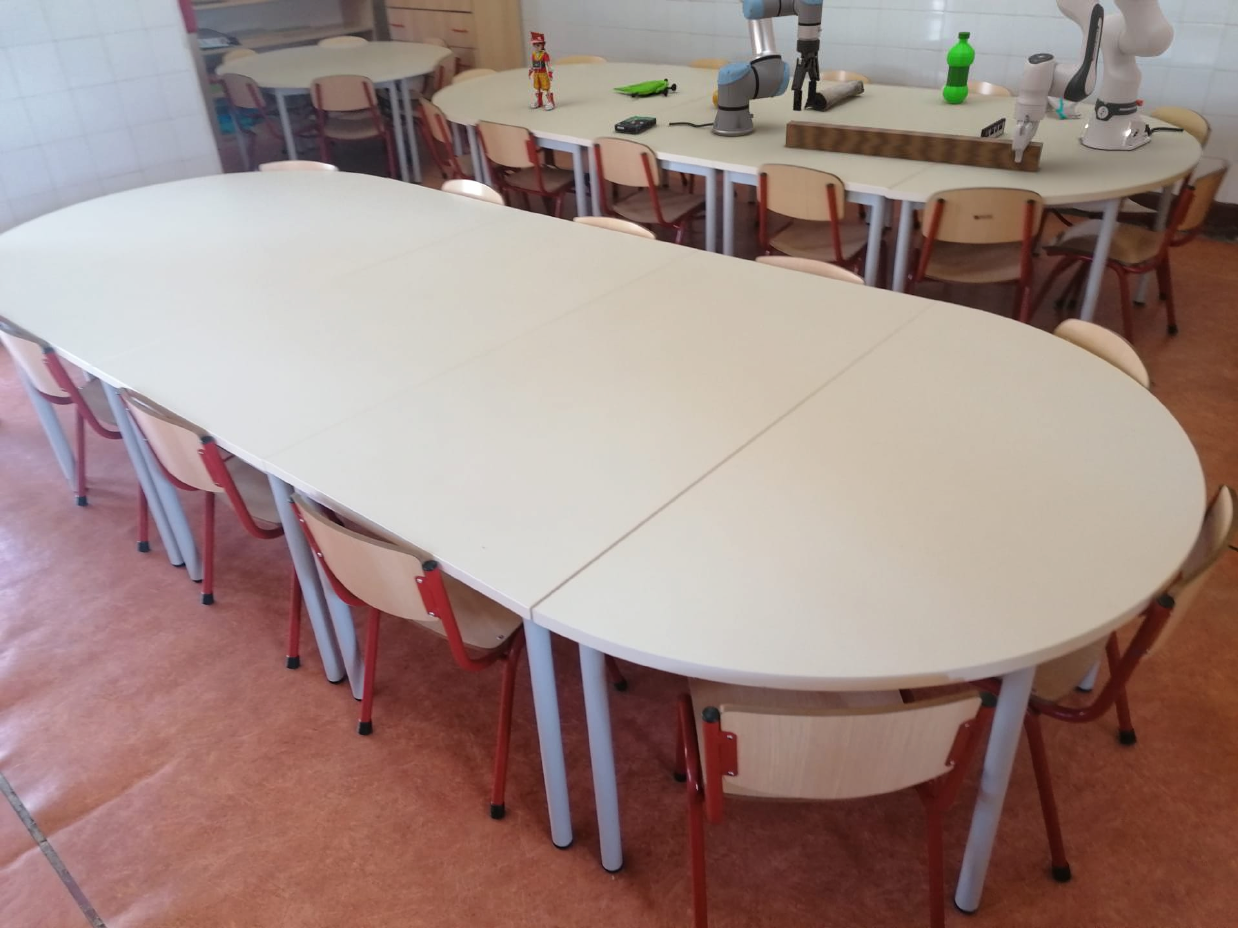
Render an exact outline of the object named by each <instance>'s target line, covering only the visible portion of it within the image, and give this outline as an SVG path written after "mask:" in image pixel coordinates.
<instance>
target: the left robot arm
mask: <svg viewBox="0 0 1238 928" xmlns="http://www.w3.org/2000/svg"><path fill="white" fill-rule="evenodd" d="M738 1H739V2H740V3H741V4H742V5H741V9H742V13H743V17H744V18H745V20H747V25H748V32H749V39H750V46H751V52H752V53H751V54H752V57H751V59H750V61H734V62H730V63H727V64H724V65H723V66H721V67H720V68H719V70H718V75H717V82H716V83H717V90H718V107H717V111H716V114H715V118H714V120H713V122H708V123H703V124H695V123H692V122H688V121H683V122H682V121H678V122H668V126H677V125H678V126H681V125H682V126H683V125H684V126H685V125H686V126H691V127H693V128H704V127H711V126H712V133H713V134H715V135H717V136H721V137H741V136H746V135H750V134H752V133H754V127H755V126H754V122H753V119H754V113H751V111H750V101H754V100H761V99H768V98H771V99H772V98H775V97H780V96H783V95H784V94H785V93H786V91H787V90H788V87H789V84H790V78H791V71H790V65H789V63H788V62H787V61H785V60H783V59H782V55H781V53H779V52H778V51H777V48H776V39H775V32H774V24H773V18H781V17H782V18H783V17H791V16H792V17H793V16H795V17H797V31H796V38H797V40H796V52H797V53H800V57H797V58H796V63H795V69H794V74H793V78H792V84H791V88H790V90H791V91H793V101H792V111H795V112H802V104H803V90H802V88H803V85H804V83H805V79H806V76H807V74H808V77H809V78H808V79H809V81H808V85H807V98H808V99H807V98H806V101H811V102H815V101H816V91H817V85H818V82H820V81H821V73H820V63H819V52H820V48H821V47H820V46H821V40H820V37H821V32H822V31H823V28H822V20H823V19H822V17H823V16H822V15H823V7H824V6H823V5H824V0H738Z"/></svg>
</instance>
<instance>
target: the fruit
mask: <svg viewBox="0 0 1238 928" xmlns="http://www.w3.org/2000/svg"><path fill="white" fill-rule="evenodd" d="M712 103H713V105H714V106H715V107H716V108H718V89H717V90H716V91H714V92H713V94H712Z"/></svg>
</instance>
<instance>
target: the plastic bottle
mask: <svg viewBox="0 0 1238 928" xmlns="http://www.w3.org/2000/svg"><path fill="white" fill-rule="evenodd" d="M970 36H971V32H970V31H959V32H958V36H957V39H958V42H957V43H956V44H954V45H953V46H952V47H951V48H950V49H949V50H948V52H947V54H946V63H947V64H948V69H947V70H948V71H947V76H946V77H947V78H946V84H945V85H944V87H943V90H942V97H943V99H944V100H945V101H946V102H947V103H948V104H960V103H961V102H963V101H964V100H966V98H967V96H968V95H969V85H968V79H969V73H970V67H971V65H972V64H973V63H974V61H975V57H976V51H975V49H974V47H972V45H971V44H970V43H969V42H968V41H969V39H970V38H971V37H970Z"/></svg>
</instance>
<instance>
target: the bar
mask: <svg viewBox="0 0 1238 928" xmlns="http://www.w3.org/2000/svg"><path fill="white" fill-rule="evenodd" d="M785 125H786V128H785V145H784V147H785V148H793V149H794V148H795V149H796V148H797V149H805V150H813V151H814V150H815V151H825V152H834V153H843V154H853V155H865V156H872V157H884V158H894V159H903V160H913V161H922V162H923V161H924V162H934V163H943V164H952V165H963V166H972V167H980V168H981V167H982V168H993V169H1000V170H1001V169H1002V170H1011V171H1012V170H1013V171H1021V172H1029V173H1030V172H1031V173H1036V172H1037V171H1038V169H1039V167H1040V161H1041V157H1042V153H1043V147H1044V142H1043V141H1032V140H1031V141H1030V143H1029V144H1028V145H1027V147H1026V148H1025V150H1024V151H1023V154H1022V155H1023V156H1022V160H1021V162H1015V156H1016V155H1015V151H1014V150H1012V144H1013V140H1014V139H1007V138H998V137H997V138H996V137H995V138H987V137H981V136H975V135H974V136H973V135H962V134H960V135H959V134H952V133H940V132H930V131H929V132H928V131H916V130H907V129H896V128H895V129H894V128H884V127H883V128H882V127H873V126H861V125H850V124H849V125H848V124H839V123H838V124H837V123H825V122H816V121H803V120H790V121H788V122H786V124H785Z"/></svg>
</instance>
